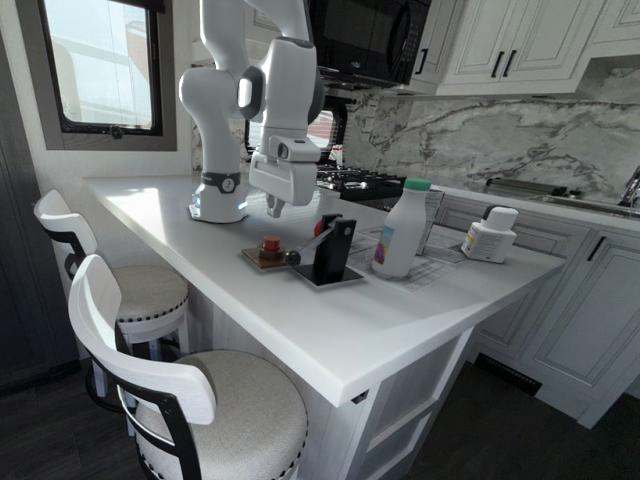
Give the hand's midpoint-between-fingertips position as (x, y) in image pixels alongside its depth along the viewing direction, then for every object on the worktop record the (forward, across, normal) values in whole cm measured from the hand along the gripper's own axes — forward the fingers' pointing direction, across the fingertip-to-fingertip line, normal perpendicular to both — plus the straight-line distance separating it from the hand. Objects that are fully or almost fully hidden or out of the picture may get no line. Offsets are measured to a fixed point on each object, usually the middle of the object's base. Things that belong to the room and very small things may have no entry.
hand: (273, 216), depth 66 cm
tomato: (+11, -4, +21) cm, 24 cm away
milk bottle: (+10, +15, +23) cm, 29 cm away
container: (+10, +15, +57) cm, 60 cm away
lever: (+3, +12, +4) cm, 13 cm away
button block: (+10, +1, 0) cm, 10 cm away
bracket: (+10, +12, +8) cm, 17 cm away
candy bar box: (+10, +4, +42) cm, 43 cm away
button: (+7, +1, 0) cm, 7 cm away
